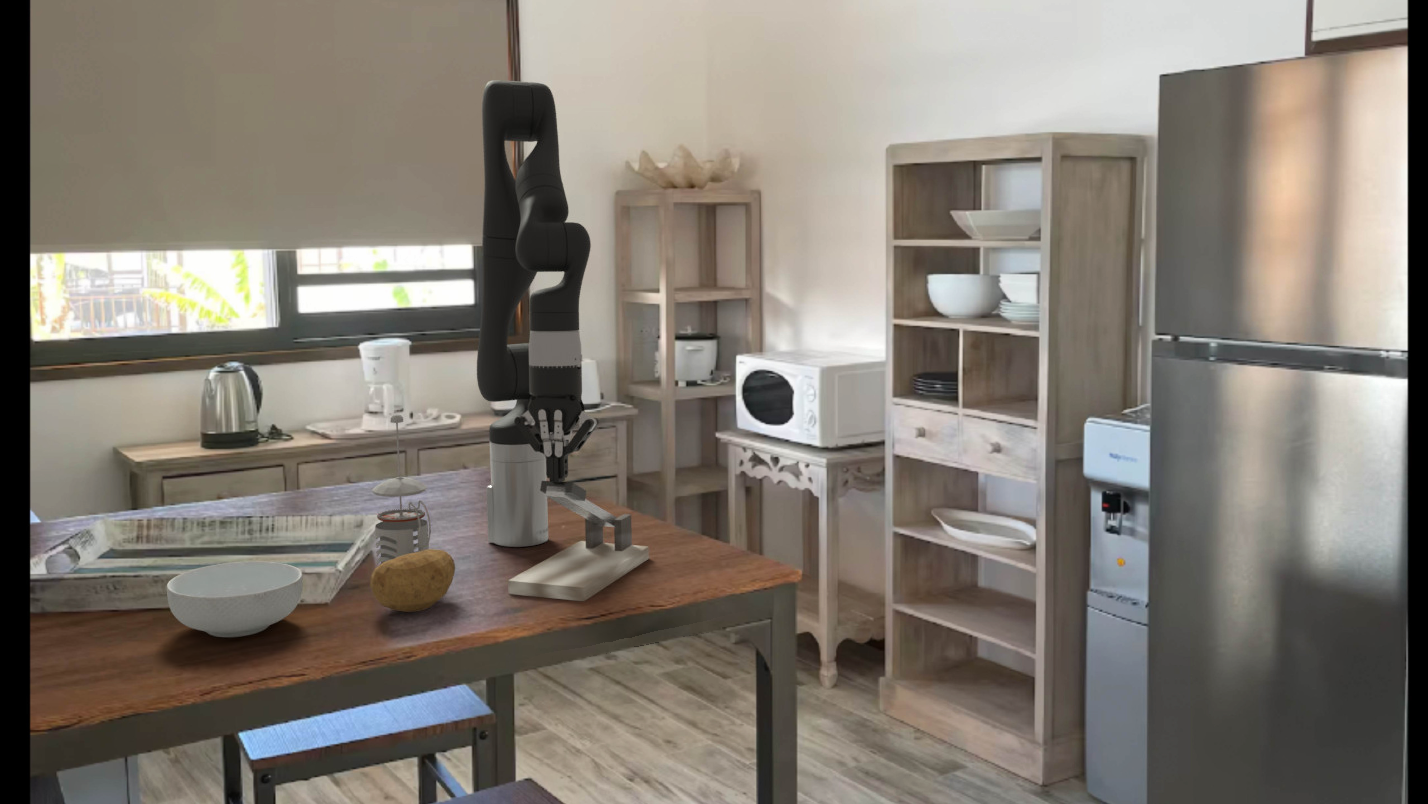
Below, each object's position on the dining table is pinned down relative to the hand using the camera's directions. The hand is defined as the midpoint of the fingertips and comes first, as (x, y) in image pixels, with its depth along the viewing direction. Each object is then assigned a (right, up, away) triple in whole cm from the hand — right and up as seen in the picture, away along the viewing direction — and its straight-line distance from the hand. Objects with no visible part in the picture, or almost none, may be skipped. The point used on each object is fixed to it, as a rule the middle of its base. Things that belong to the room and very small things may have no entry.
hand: (557, 481), depth 186 cm
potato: (-19, -18, -6) cm, 27 cm away
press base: (+3, -15, +9) cm, 18 cm away
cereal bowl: (-41, -19, -14) cm, 47 cm away
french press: (-24, -15, +9) cm, 30 cm away
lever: (+3, -5, +9) cm, 11 cm away
